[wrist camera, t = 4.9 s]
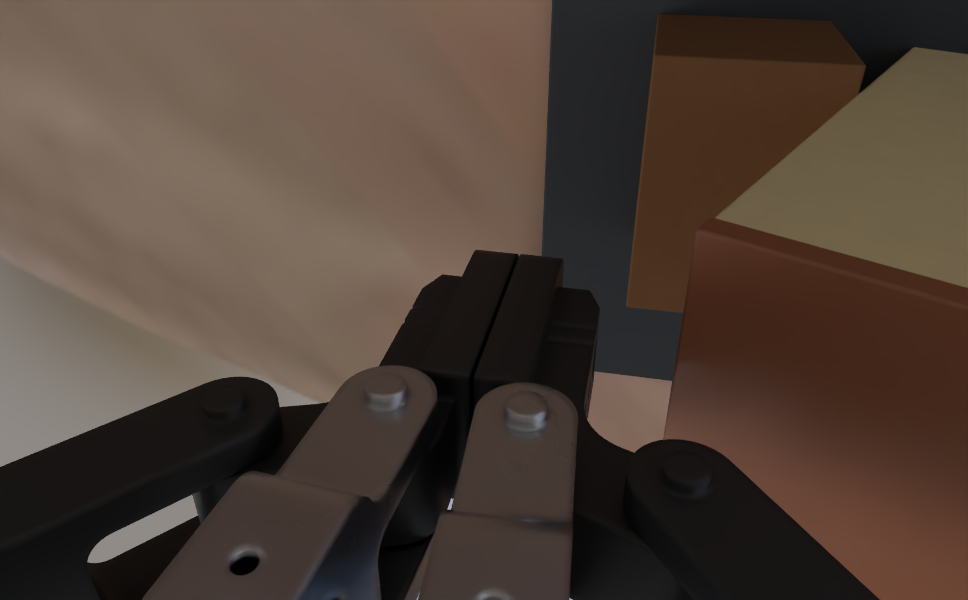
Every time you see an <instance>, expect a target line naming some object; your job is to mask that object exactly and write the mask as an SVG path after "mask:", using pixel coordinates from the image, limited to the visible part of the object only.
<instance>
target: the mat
mask: <svg viewBox="0 0 968 600" xmlns="http://www.w3.org/2000/svg"><path fill="white" fill-rule="evenodd" d="M914 47H918V48H925V49H932V50H940V51H947V52H955V53H962V54H968V0H552V23H551V47H550V71H549V96H548V120H547V144H546V168H545V192H544V217H543V241H542V256H543V257H553V258H563V261H564V272H563V287H564V288H573V289H582V290H590V291H591V293H592V295H593V296H594V298H595V300H596V302H597V304H598V305H599V307H600V314H599V325H598V336H597V347H596V358H595V369H594V371H597V372H605V373H613V374H621V375H629V376H638V377H646V378H654V379H662V380H670V381H673V374H674V368H675V362H676V355H677V349H678V343H679V336H680V330H681V324H682V317H683V311H684V304H685V298H686V292H687V285H688V279H689V273H690V266H691V260H692V254H693V247H694V241H695V235H696V230H697V229H698V228H699V227H700V226H701V225H702V224H704V223H705V222H706V221H707V220H708V219H709V218H715V217H716V216H717V215H718V214H720V213H721V212H722V211H723V210H724V209H725V208H727V207H728V206H729V205H730V204H731V203H732V202H734V201H735V200H736V199H737V198H738V197H739V196H741V195H742V194H743V193H744V192H745V191H746V190H748V189H749V188H750V187H751V186H752V185H753V184H755V183H756V182H757V181H758V180H759V179H760V178H762V177H763V176H764V175H765V174H766V173H767V172H769V171H770V170H771V169H772V168H773V167H774V166H776V165H777V164H778V163H779V162H780V161H781V160H783V159H784V158H785V157H786V156H787V155H788V154H790V153H791V152H792V151H793V150H794V149H795V148H797V147H798V146H799V145H800V144H801V143H802V142H804V141H805V140H806V139H807V138H808V137H809V136H811V135H812V134H813V133H814V132H815V131H816V130H818V129H819V128H820V127H821V126H822V125H823V124H825V123H826V122H827V121H828V120H829V119H830V118H832V117H833V116H834V115H835V114H836V113H837V112H839V111H840V110H841V109H842V108H843V107H844V106H846V105H847V104H848V103H849V102H850V101H851V100H853V99H854V98H855V97H856V96H857V95H858V94H860V93H861V92H862V91H863V90H864V89H865V88H867V87H868V86H869V85H870V84H871V83H872V82H874V81H875V80H876V79H877V78H878V77H879V76H881V75H882V74H883V73H884V72H885V71H886V70H888V69H889V68H890V67H891V66H892V65H893V64H895V63H896V62H897V61H898V60H899V59H900V58H902V57H903V56H904V55H905V54H906V53H907V52H909V51H910V50H911V49H912V48H914Z"/></svg>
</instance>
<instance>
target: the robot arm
mask: <svg viewBox="0 0 968 600" xmlns="http://www.w3.org/2000/svg"><path fill="white" fill-rule="evenodd" d="M563 272H564V261H563V258H553V257H543V256H533V255H524V254H521V255H520V256H518V254H512V253H502V252H493V251H483V250H475V251H474V253H473V255H472V257H471V259H470V261H469V263H468V265H467V267H466V270H465V272H464V274H463V276H462V277H460V276H451V275H441V276H440V277H438V278H437V279H435V280H434V281H433V282H431V283H430V284H428V285H427V286H425V287H424V288H422V290H421V292H420V294H419V295H418V297H417V299H416V301H415V303H414V304H413V309H411V310H410V312H409V313H408V315H407V317H406V319H405V323H403V324H402V326H401V328H400V329H399V331H398V333H397V335H396V336H395V338H394V340H393V342H392V344H391V345H390V347H389V349H388V351H387V353H386V354H385V356H384V358H383V360H382V361H381V363H380V365H379V366H378V367H373V368H370V369H366V370H364V371H361V372H359V373H357V374H355V375H354V376H352V377H350V378H349V379H348V380H347V381H345V382H344V384H343V385H342V386H341V387H340V388H339V390H338V391H337V392H336V394H335V395H334V397H333V398H332V399H331V401H330V402H327V403H320V404H311V405H300V406H288V407H279V402H278V397H277V394H276V392H275V390H274V389H273V388H272V387H271V386H270V385H269V384H267V383H265V382H264V381H261V380H258V379H255V378H250V377H229V378H222V379H218V380H214V381H211V382H208V383H205V384H203V385H201V386H198V387H195V388H193V389H190V390H188V391H186V392H183V393H181V394H178V395H176V396H173V397H171V398H168V399H166V400H164V401H161V402H159V403H156V404H154V405H151V406H149V407H146V408H144V409H142V410H139V411H137V412H134V413H132V414H129V415H127V416H124V417H122V418H119V419H117V420H115V421H112V422H110V423H107V424H105V425H102V426H100V427H97V428H95V429H92V430H90V431H87V432H85V433H83V434H80V435H78V436H76V437H73V438H70V439H68V440H65V441H63V442H60V443H58V444H56V445H53V446H51V447H48V448H46V449H43V450H41V451H39V452H36V453H34V454H31V455H29V456H26V457H24V458H21V459H19V460H17V461H14V462H11V463H9V464H7V465H4V466H2V467H0V600H416V599H417V597H418V595H419V598H418V600H569V598H571V599H573V600H880V599H879V598H878V597H877V596H875V595H874V594H873V593H872V592H871V591H870V590H869V589H868V588H867V587H866V586H865V585H864V584H863V583H861V582H860V581H859V580H858V579H857V578H856V577H855V576H854V575H853V574H852V573H851V572H850V571H849V570H847V569H846V568H845V567H844V566H843V565H842V564H841V563H840V562H839V561H838V560H837V559H836V558H835V557H834V556H832V555H831V554H830V553H829V552H828V551H827V550H826V549H825V548H824V547H823V546H822V545H821V544H820V543H818V542H817V541H816V540H815V539H814V538H813V537H812V536H811V535H810V534H809V533H808V532H807V531H806V530H804V529H803V528H802V527H801V526H800V525H799V524H798V523H797V522H796V521H795V520H794V519H793V518H792V517H790V516H789V515H788V514H787V513H786V512H785V511H784V510H783V509H782V508H781V507H780V506H779V505H778V504H776V503H775V502H774V501H773V500H772V499H771V498H770V497H769V496H768V495H767V494H766V493H765V492H764V491H762V490H761V489H760V488H759V487H758V486H757V485H756V484H755V483H754V482H753V481H752V480H751V479H750V478H749V477H747V476H746V475H745V474H744V473H743V472H742V471H741V470H740V469H739V468H738V467H737V466H736V465H735V464H733V463H732V462H731V461H730V460H729V459H728V458H727V457H725V456H724V455H723V454H721V453H720V452H718V451H716V450H715V449H712V448H710V447H708V446H706V445H703V444H700V443H697V442H693V441H689V440H681V439H665V440H658V441H655V442H651V443H649V444H646V445H644V446H642V447H641V448H640V449H638V450H637V451H636V452H635V453H633V452H631V451H628V450H625V449H623V448H621V447H618V446H616V445H614V444H612V443H610V442H609V441H607V440H605V439H604V438H603V437H601V436H600V435H599V434H598V433H597V432H596V431H595V430H594V429H593V428H592V427H591V425H590V424H589V422H588V421H587V418H588V412H589V406H590V399H591V393H592V387H593V380H594V369H595V358H596V347H597V336H598V325H599V314H600V307H599V305H598V304H597V302H596V300H595V298H594V296H593V295H592V293H591V291H590V290H582V289H573V288H564V287H563ZM190 495H193V498H194V502H195V506H196V509H197V513H198V516H196V517H194V518H192V519H190V520H188V521H186V522H184V523H182V524H180V525H178V526H176V527H174V528H172V529H170V530H168V531H166V532H164V533H162V534H160V535H158V536H156V537H154V538H152V539H150V540H148V541H146V542H145V543H142V544H140V545H138V546H136V547H134V548H132V549H130V550H128V551H126V552H124V553H122V554H120V555H118V556H116V557H114V558H113V559H110V560H108V561H105V562H101V563H88V562H87V560H88V556H89V554H90V552H91V551H92V549H93V548H94V547H95V545H96V544H97V543H98V542H99V541H101V540H102V539H103V538H105V537H106V536H108V535H109V534H111V533H113V532H115V531H117V530H119V529H121V528H124V527H126V526H127V525H130V524H132V523H134V522H136V521H138V520H140V519H142V518H144V517H146V516H148V515H150V514H152V513H155V512H156V511H158V510H161V509H163V508H165V507H167V506H169V505H171V504H173V503H175V502H177V501H179V500H181V499H183V498H186V497H188V496H190ZM451 498H452V499H454V500H453V504H452V508H451V510H447V508H448V505H449V503H450V499H451ZM419 593H420V594H419Z"/></svg>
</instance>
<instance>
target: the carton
mask: <svg viewBox="0 0 968 600" xmlns="http://www.w3.org/2000/svg"><path fill="white" fill-rule="evenodd" d="M665 439H681V440H689V441H693V442H697V443H700V444H703V445H706V446H708V447H710V448H712V449H715V450H716V451H718V452H720V453H721V454H723V455H724V456H725V457H727V458H728V459H729V460H730V461H731V462H732V463H733V464H735V465H736V466H737V467H738V468H739V469H740V470H741V471H742V472H743V473H744V474H745V475H746V476H747V477H749V478H750V479H751V480H752V481H753V482H754V483H755V484H756V485H757V486H758V487H759V488H760V489H761V490H762V491H764V492H765V493H766V494H767V495H768V496H769V497H770V498H771V499H772V500H773V501H774V502H775V503H776V504H778V505H779V506H780V507H781V508H782V509H783V510H784V511H785V512H786V513H787V514H788V515H789V516H790V517H792V518H793V519H794V520H795V521H796V522H797V523H798V524H799V525H800V526H801V527H802V528H803V529H804V530H806V531H807V532H808V533H809V534H810V535H811V536H812V537H813V538H814V539H815V540H816V541H817V542H818V543H820V544H821V545H822V546H823V547H824V548H825V549H826V550H827V551H828V552H829V553H830V554H831V555H832V556H834V557H835V558H836V559H837V560H838V561H839V562H840V563H841V564H842V565H843V566H844V567H845V568H846V569H847V570H849V571H850V572H851V573H852V574H853V575H854V576H855V577H856V578H857V579H858V580H859V581H860V582H861V583H863V584H864V585H865V586H866V587H867V588H868V589H869V590H870V591H871V592H872V593H873V594H874V595H875V596H877V597H878V598H879V599H880V600H968V54H962V53H955V52H947V51H940V50H932V49H925V48H918V47H914V48H912V49H911V50H910V51H909V52H907V53H906V54H905V55H904V56H903V57H902V58H900V59H899V60H898V61H897V62H896V63H895V64H893V65H892V66H891V67H890V68H889V69H888V70H886V71H885V72H884V73H883V74H882V75H881V76H879V77H878V78H877V79H876V80H875V81H874V82H872V83H871V84H870V85H869V86H868V87H867V88H865V89H864V90H863V91H862V92H861V93H860V94H858V95H857V96H856V97H855V98H854V99H853V100H851V101H850V102H849V103H848V104H847V105H846V106H844V107H843V108H842V109H841V110H840V111H839V112H837V113H836V114H835V115H834V116H833V117H832V118H830V119H829V120H828V121H827V122H826V123H825V124H823V125H822V126H821V127H820V128H819V129H818V130H816V131H815V132H814V133H813V134H812V135H811V136H809V137H808V138H807V139H806V140H805V141H804V142H802V143H801V144H800V145H799V146H798V147H797V148H795V149H794V150H793V151H792V152H791V153H790V154H788V155H787V156H786V157H785V158H784V159H783V160H781V161H780V162H779V163H778V164H777V165H776V166H774V167H773V168H772V169H771V170H770V171H769V172H767V173H766V174H765V175H764V176H763V177H762V178H760V179H759V180H758V181H757V182H756V183H755V184H753V185H752V186H751V187H750V188H749V189H748V190H746V191H745V192H744V193H743V194H742V195H741V196H739V197H738V198H737V199H736V200H735V201H734V202H732V203H731V204H730V205H729V206H728V207H727V208H725V209H724V210H723V211H722V212H721V213H720V214H718V215H717V216H716V217H715V218H709V219H708V220H707V221H706V222H705V223H704V224H702V225H701V226H700V227H699V228H698V229H697V230H696V235H695V241H694V247H693V254H692V260H691V266H690V273H689V279H688V285H687V292H686V298H685V304H684V311H683V317H682V324H681V330H680V336H679V343H678V349H677V355H676V362H675V368H674V374H673V381H672V387H671V393H670V400H669V406H668V412H667V419H666V425H665V431H664V438H663V440H665Z"/></svg>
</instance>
